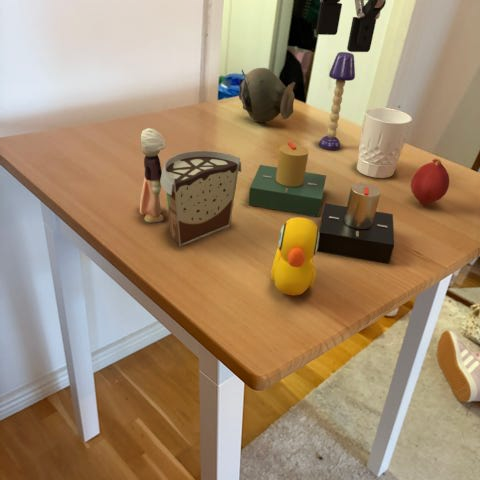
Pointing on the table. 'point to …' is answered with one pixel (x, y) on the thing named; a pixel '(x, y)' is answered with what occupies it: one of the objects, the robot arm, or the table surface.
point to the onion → (430, 182)
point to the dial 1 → (291, 165)
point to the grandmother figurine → (151, 175)
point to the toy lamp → (338, 96)
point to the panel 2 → (356, 236)
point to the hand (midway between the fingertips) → (341, 42)
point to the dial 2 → (362, 205)
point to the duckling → (295, 256)
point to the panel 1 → (287, 192)
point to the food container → (199, 193)
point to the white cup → (382, 141)
